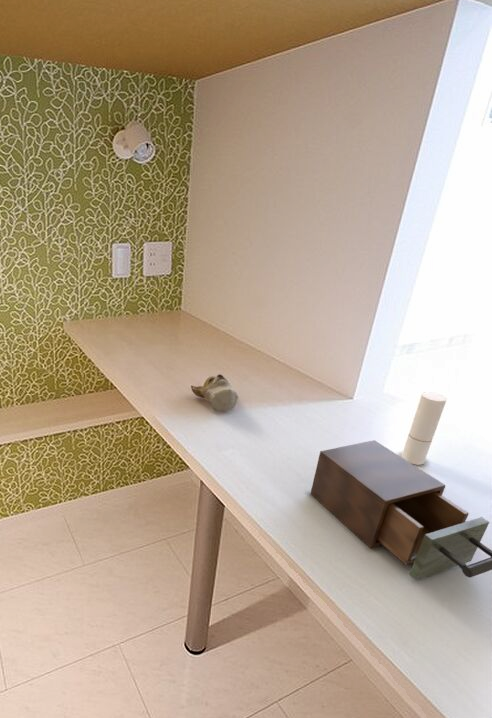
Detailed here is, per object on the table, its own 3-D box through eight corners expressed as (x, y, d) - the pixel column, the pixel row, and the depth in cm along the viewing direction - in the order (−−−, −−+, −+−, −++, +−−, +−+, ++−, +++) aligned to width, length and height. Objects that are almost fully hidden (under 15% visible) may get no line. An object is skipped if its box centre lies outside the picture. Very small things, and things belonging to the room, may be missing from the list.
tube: (423, 467, 91) (446, 403, 85) (400, 460, 93) (421, 397, 87) (424, 457, 94) (446, 395, 88) (402, 451, 96) (422, 390, 90)
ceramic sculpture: (210, 385, 105) (190, 366, 118) (208, 417, 108) (188, 395, 122) (251, 382, 107) (226, 364, 121) (247, 414, 111) (223, 392, 124)
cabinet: (427, 531, 74) (445, 485, 70) (370, 548, 70) (385, 501, 66) (362, 481, 86) (374, 439, 82) (310, 493, 82) (320, 451, 78)
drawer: (504, 586, 63) (526, 545, 59) (447, 608, 59) (466, 566, 56) (398, 506, 78) (410, 470, 75) (347, 519, 75) (358, 483, 71)
